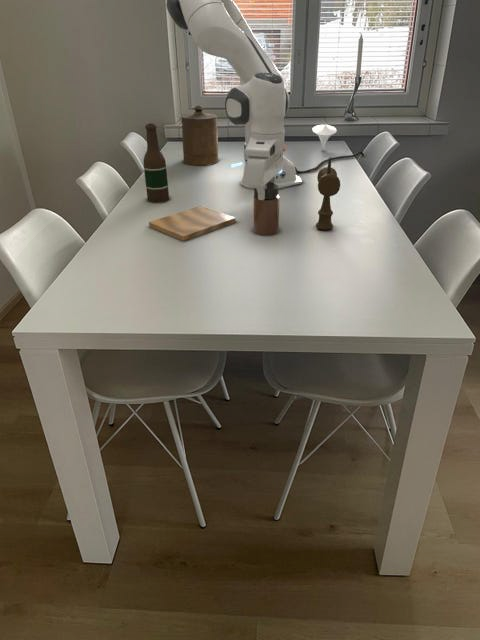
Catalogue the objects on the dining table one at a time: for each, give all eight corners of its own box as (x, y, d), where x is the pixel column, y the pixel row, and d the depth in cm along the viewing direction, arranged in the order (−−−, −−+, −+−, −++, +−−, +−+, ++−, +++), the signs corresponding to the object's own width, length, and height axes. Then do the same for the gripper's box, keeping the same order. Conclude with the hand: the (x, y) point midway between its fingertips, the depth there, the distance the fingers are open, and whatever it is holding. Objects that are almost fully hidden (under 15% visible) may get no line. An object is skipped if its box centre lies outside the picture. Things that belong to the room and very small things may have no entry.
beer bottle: (165, 203, 162) (158, 126, 149) (143, 202, 163) (134, 126, 151) (172, 196, 168) (166, 122, 156) (151, 195, 170) (143, 121, 157)
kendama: (314, 234, 137) (319, 161, 127) (313, 222, 146) (317, 152, 135) (335, 234, 137) (342, 161, 126) (333, 222, 145) (339, 153, 135)
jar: (270, 224, 144) (271, 184, 138) (283, 232, 139) (284, 190, 132) (249, 228, 142) (248, 187, 135) (260, 237, 136) (261, 194, 130)
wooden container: (225, 159, 212) (223, 104, 200) (205, 167, 201) (202, 109, 189) (197, 155, 218) (194, 102, 207) (176, 162, 208) (172, 106, 196)
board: (200, 210, 156) (200, 205, 155) (235, 222, 146) (235, 217, 145) (149, 226, 144) (148, 222, 143) (184, 241, 134) (183, 236, 133)
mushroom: (336, 153, 218) (339, 125, 212) (312, 153, 218) (314, 125, 212) (333, 148, 227) (335, 120, 221) (309, 148, 227) (311, 121, 221)
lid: (273, 200, 131) (273, 191, 130) (250, 197, 133) (250, 189, 132) (281, 191, 136) (281, 183, 135) (258, 189, 138) (258, 180, 137)
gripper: (267, 134, 137) (266, 183, 144) (242, 150, 120) (242, 205, 128) (289, 136, 135) (287, 185, 142) (267, 152, 119) (265, 207, 126)
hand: (266, 195), depth 135 cm, fingers closed on lid, 6 cm apart
